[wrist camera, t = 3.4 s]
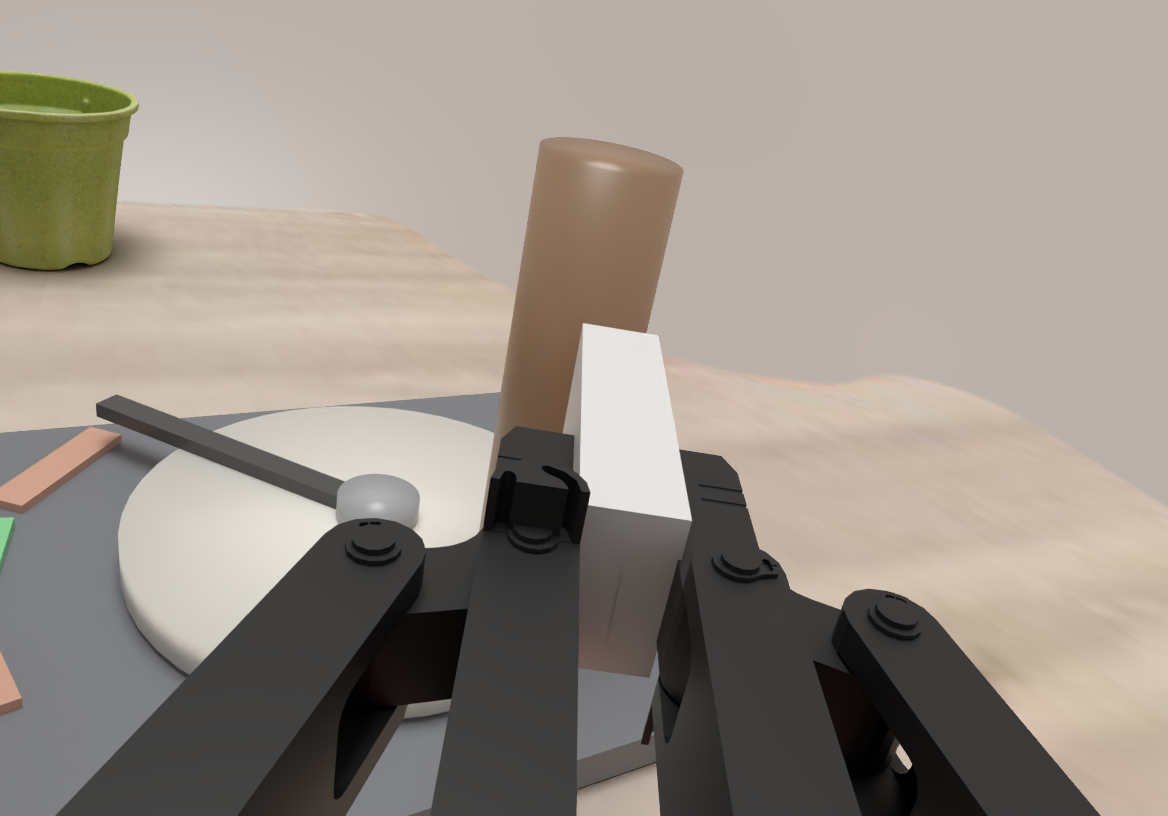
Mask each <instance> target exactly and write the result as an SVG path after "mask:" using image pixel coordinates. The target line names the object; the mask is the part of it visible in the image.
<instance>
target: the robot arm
mask: <svg viewBox="0 0 1168 816" xmlns="http://www.w3.org/2000/svg"><path fill="white" fill-rule="evenodd" d="M656 652H657V653H658V663H659V676H658V680H657V683H656V687H655V691H654V694H653V698H652V701H651V705H650V709H649V712H648V716H647V720H646V723H645V727H644V730H643V735H642V740H641V744H643V745H649V741H650V738H651V734H652V732H654V739H655V752H656V765H657V777H658V790H659V803H660V815H661V816H1100V814H1099V813H1098V812H1097V811H1096V810H1095V809H1094V807H1093V806H1092V805H1091V804H1090V803H1089V801H1088V800H1087V799H1086V798H1085V797H1084V795H1083V794H1082V793H1081V792H1080V791H1079V789H1078V788H1077V787H1076V786H1075V785H1074V783H1073V782H1072V781H1071V780H1070V779H1069V778H1068V776H1067V775H1066V774H1065V773H1064V772H1063V770H1062V769H1061V768H1060V767H1059V766H1058V764H1057V763H1056V762H1055V761H1054V760H1053V758H1052V757H1051V756H1050V755H1049V754H1048V752H1047V751H1046V750H1045V749H1044V748H1043V746H1042V745H1041V744H1040V743H1039V742H1038V741H1037V739H1036V738H1035V737H1034V736H1033V735H1032V733H1031V732H1030V731H1029V730H1028V729H1027V727H1026V726H1025V725H1024V724H1023V723H1022V721H1021V720H1020V719H1019V718H1018V717H1017V715H1016V714H1015V713H1014V712H1013V711H1012V710H1011V708H1010V707H1009V706H1008V705H1007V704H1006V702H1005V701H1004V700H1003V699H1002V698H1001V696H1000V695H999V694H998V693H997V692H996V690H995V689H994V688H993V687H992V686H991V684H990V683H989V682H988V681H987V680H986V678H985V677H984V676H983V675H982V674H981V673H980V671H979V670H978V669H977V668H976V667H975V665H974V664H973V663H972V662H971V661H970V659H969V658H968V657H967V656H966V655H965V653H964V652H963V651H962V650H961V649H960V647H959V646H958V645H957V644H956V643H955V642H954V640H953V639H952V638H951V637H950V636H949V634H948V633H947V632H946V631H945V630H944V628H943V627H942V626H941V625H940V624H939V622H938V621H937V620H936V619H935V618H934V617H933V616H931V615H930V614H929V613H928V612H927V611H926V610H925V609H924V608H923V607H921V606H919V605H917V604H916V603H914V602H912V601H911V600H909V599H908V598H906V597H903V596H901V595H898V594H895V593H892V592H888V591H883V590H874V589H865V590H859V591H854V592H853V593H851V594H850V595H849V596H848V597H846V598H845V601H844V603H843V606H842V609H841V610H840V609H837V608H834V607H831V606H828V605H825V604H823V603H820V602H817V601H814V600H811V599H809V598H807V597H804V596H802V595H800V594H797V593H796V592H794V591H792V590H791V589H790V587H789V583H788V580H787V577H786V574H785V572H784V571H783V569H782V568H781V566H780V564H779V563H778V562H777V561H776V560H775V559H773V558H772V557H771V556H770V555H769V554H767V553H766V552H764V551H762V550H760V549H759V547H758V543H757V540H756V536H755V533H754V529H753V526H752V522H751V519H750V515H749V512H748V509H747V508H746V501H745V498H744V494H742V488H741V484H740V481H739V477H738V474H737V472H736V471H735V470H734V469H733V468H732V467H731V466H730V465H729V464H728V463H727V462H726V461H725V460H724V459H723V458H722V456H717V455H711V454H705V453H698V452H692V451H686V450H679V447H678V441H677V436H676V430H675V425H674V419H673V414H672V408H671V403H670V397H669V392H668V386H667V381H666V375H665V370H664V364H663V359H662V353H661V348H660V343H659V337H658V335H651V334H646V333H640V332H634V331H628V330H622V329H616V328H610V327H604V326H598V325H592V324H586V323H583V326H582V331H581V337H580V342H579V347H578V353H577V358H576V363H575V369H574V374H573V380H572V385H571V390H570V396H569V401H568V407H567V412H566V417H565V423H564V428H563V433H557V432H551V431H544V430H538V429H532V428H525V427H519V426H516V427H514V428H513V429H512V430H511V431H510V432H509V433H507V434H506V435H505V436H504V437H503V438H501V442H500V447H499V453H498V459H497V463H496V469H495V471H494V473H493V474H492V476H491V478H490V484H489V491H488V498H487V504H486V511H485V518H484V525H483V528H482V529H481V530H480V531H479V532H478V533H477V535H475V536H474V537H472V538H470V539H468V540H467V541H465V542H461V543H458V544H455V545H451V546H444V547H435V548H425V546H424V542H423V539H422V538H421V537H420V536H419V535H418V534H417V533H416V532H415V531H414V530H413V529H411V528H409V527H407V526H405V525H403V524H400V523H398V522H396V521H391V520H385V519H379V518H365V519H354V520H351V521H347V522H344V523H341V524H338V525H336V526H335V527H333V528H332V529H330V530H329V531H327V532H326V533H325V534H324V535H323V536H322V537H321V538H320V539H319V540H318V541H317V542H316V543H315V544H314V545H313V546H312V547H311V548H310V549H309V550H308V551H307V553H306V554H305V555H304V556H303V557H302V558H301V559H300V560H299V561H298V562H297V563H296V564H295V565H294V566H293V567H292V568H291V569H290V570H289V571H288V572H287V573H286V575H285V576H284V577H283V578H282V579H281V580H280V581H279V582H278V583H277V584H276V585H275V586H274V587H273V588H272V589H271V590H270V591H269V592H268V593H267V594H266V595H265V596H264V598H263V599H262V600H261V601H260V602H259V603H258V604H257V605H256V606H255V607H254V608H253V609H252V610H251V611H250V612H249V613H248V614H247V615H246V616H245V617H244V618H243V620H242V621H241V622H240V623H239V624H238V625H237V626H236V627H235V628H234V629H233V630H232V631H231V632H230V633H229V634H228V635H227V636H226V637H225V638H224V639H223V640H222V642H221V643H220V644H219V645H218V646H217V647H216V648H215V649H214V650H213V651H212V652H211V653H210V654H209V655H208V656H207V657H206V658H205V659H204V660H203V661H202V662H201V663H200V665H199V666H198V667H197V668H196V669H195V670H194V671H193V672H192V673H191V674H190V675H189V676H188V677H187V678H186V679H185V680H184V681H183V682H182V683H181V684H180V685H179V687H178V688H177V689H176V690H175V691H174V692H173V693H172V694H171V695H170V696H169V697H168V698H167V699H166V700H165V701H164V702H163V703H162V704H161V705H160V706H159V707H158V708H157V710H156V711H155V712H154V713H153V714H152V715H151V716H150V717H149V718H148V719H147V720H146V721H145V722H144V723H143V724H142V725H141V726H140V727H139V728H138V729H137V730H136V732H135V733H134V734H133V735H132V736H131V737H130V738H129V739H128V740H127V741H126V742H125V743H124V744H123V745H122V746H121V747H120V748H119V749H118V750H117V751H116V752H115V753H114V755H113V756H112V757H111V758H110V759H109V760H108V761H107V762H106V763H105V764H104V765H103V766H102V767H101V768H100V769H99V770H98V771H97V772H96V773H95V774H94V775H93V777H92V778H91V779H90V780H89V781H88V782H87V783H86V784H85V785H84V786H83V787H82V788H81V789H80V790H79V791H78V792H77V793H76V794H75V795H74V796H73V797H72V798H71V800H70V801H69V802H68V803H67V804H66V805H65V806H64V807H63V808H62V809H61V810H60V811H59V812H58V813H57V814H56V815H55V816H346V814H347V813H348V811H349V809H350V808H351V806H352V804H353V803H354V801H355V799H356V797H357V796H358V794H359V792H360V791H361V789H362V787H363V786H364V784H365V782H366V781H367V779H368V777H369V776H370V774H371V772H372V771H373V769H374V767H375V766H376V764H377V762H378V761H379V759H380V757H381V755H382V754H383V752H384V750H385V749H386V747H387V745H388V744H389V742H390V740H391V739H392V737H393V735H394V734H395V732H396V730H397V729H398V727H399V725H400V724H401V722H402V720H403V719H404V716H405V713H406V709H407V706H408V704H416V703H424V702H432V701H440V700H448V699H451V704H450V709H449V715H448V720H447V726H446V731H445V736H444V742H443V747H442V753H441V758H440V763H439V769H438V774H437V780H436V785H435V791H434V796H433V801H432V807H431V812H430V816H576V806H577V730H578V668H582V669H589V670H596V671H603V672H610V673H618V674H625V675H632V676H639V677H646V678H650V675H651V671H652V667H653V663H654V660H655V656H656ZM899 744H900V745H901V746H902V748H903V749H904V751H905V752H906V754H907V755H908V757H909V759H910V761H911V763H912V766H911V768H910V769H909V770H908V769H907V768H906V767H905V766H904V765H903V763H902V762H901V760H900V759H899V757H898V756H897V754H896V750H897V748H898V746H899Z"/></svg>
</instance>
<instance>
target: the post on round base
mask: <svg viewBox="0 0 1168 816" xmlns="http://www.w3.org/2000/svg"><path fill="white" fill-rule="evenodd" d="M682 175H683V169H682V167H680V166H679V165H678V164H676V163H675V162H673V161H671V160H669V159H666V158H664V157H661V156H659V155H656V154H653V153H650V152H647V151H643V150H640V149H636V148H632V147H628V146H624V145H619V144H614V143H609V142H604V141H597V140H591V139H581V138H568V137H556V138H548V139H544V140H542V141H541V142H540V146H539V152H538V159H537V165H536V172H535V178H534V185H533V191H532V197H531V203H530V210H529V216H528V222H527V229H526V235H525V242H524V248H523V255H522V261H521V267H520V273H519V280H518V286H517V292H516V299H515V305H514V311H513V318H512V324H511V330H510V337H509V343H508V350H507V356H506V362H505V369H504V375H503V381H502V388H501V394H500V400H499V407H498V413H497V419H496V426H495V432H494V433H493V432H490V431H488V430H485V429H482V428H479V427H476V426H473V425H470V424H467V423H464V422H460V421H457V420H453V419H449V418H445V417H441V416H436V415H431V414H426V413H421V412H416V411H408V410H401V409H393V408H380V407H362V406H336V407H316V408H307V409H298V410H290V411H284V412H279V413H273V414H268V415H263V416H259V417H255V418H252V419H248V420H244V421H240V422H237V423H234V424H231V425H228V426H226V427H223V428H220V429H217V430H215V431H211V430H208V429H206V428H203V427H201V426H198V425H195V424H193V423H190V422H187V421H185V420H182V419H179V418H177V417H174V416H172V415H169V414H166V413H164V412H161V411H158V410H156V409H153V408H151V407H148V406H145V405H143V404H140V403H137V402H135V401H132V400H130V399H127V398H124V397H122V396H119V395H114V396H112V397H110V398H108V399H105V400H103V401H101V402H99V403H96V410H97V417H100V418H103V419H105V420H108V421H110V422H113V423H115V424H118V425H120V426H123V427H126V428H128V429H131V430H133V431H136V432H138V433H141V434H144V435H146V436H149V437H151V438H154V439H156V440H159V441H161V442H164V443H167V444H169V445H172V446H174V447H177V448H179V449H177V450H176V451H174V452H173V453H171V454H170V455H169V456H167V457H166V458H165V459H163V460H162V461H161V462H159V463H158V464H157V465H156V466H155V467H154V468H153V469H152V470H151V471H150V472H149V473H148V474H147V475H146V476H145V477H144V478H143V479H142V480H141V481H140V483H139V484H138V485H137V487H136V488H135V490H134V491H133V492H132V494H131V495H130V497H129V499H128V501H127V504H126V506H125V508H124V510H123V513H122V515H121V520H120V525H119V530H118V546H119V564H120V581H121V590H122V593H123V596H124V600H125V603H126V606H127V609H128V611H129V613H130V615H131V616H132V618H133V620H134V622H135V624H136V625H137V627H138V629H139V630H140V632H141V633H142V634H143V635H144V636H145V637H146V639H147V640H148V641H149V642H150V643H151V644H152V646H153V647H154V648H155V649H156V650H157V651H158V652H159V653H161V654H162V655H163V656H164V657H165V658H167V659H168V660H169V661H170V662H172V663H173V664H174V665H175V666H176V667H178V668H179V669H180V670H182V671H184V672H185V673H187V674H189V675H190V674H191V673H192V672H193V671H194V670H195V669H196V668H197V667H198V666H199V665H200V663H201V662H202V661H203V660H204V659H205V658H206V657H207V656H208V655H209V654H210V653H211V652H212V651H213V650H214V649H215V648H216V647H217V646H218V645H219V644H220V643H221V642H222V640H223V639H224V638H225V637H226V636H227V635H228V634H229V633H230V632H231V631H232V630H233V629H234V628H235V627H236V626H237V625H238V624H239V623H240V622H241V621H242V620H243V618H244V617H245V616H246V615H247V614H248V613H249V612H250V611H251V610H252V609H253V608H254V607H255V606H256V605H257V604H258V603H259V602H260V601H261V600H262V599H263V598H264V596H265V595H266V594H267V593H268V592H269V591H270V590H271V589H272V588H273V587H274V586H275V585H276V584H277V583H278V582H279V581H280V580H281V579H282V578H283V577H284V576H285V575H286V573H287V572H288V571H289V570H290V569H291V568H292V567H293V566H294V565H295V564H296V563H297V562H298V561H299V560H300V559H301V558H302V557H303V556H304V555H305V554H306V553H307V551H308V550H309V549H310V548H311V547H312V546H313V545H314V544H315V543H316V542H317V541H318V540H319V539H320V538H321V537H322V536H323V535H324V534H325V533H326V532H327V531H329V530H330V529H332V528H333V527H335V526H336V525H338V524H341V523H344V522H347V521H351V520H354V519H365V518H379V519H385V520H391V521H396V522H398V523H400V524H403V525H405V526H407V527H409V528H411V529H413V530H414V531H415V532H416V533H417V534H418V535H419V536H420V537H421V538H422V539H423V542H424V546H425V548H435V547H444V546H451V545H455V544H458V543H461V542H465V541H467V540H468V539H470V538H472V537H474V536H475V535H477V533H478V532H479V531H480V530H481V529H482V528H483V525H484V518H485V511H486V504H487V498H488V491H489V484H490V478H491V476H492V474H493V473H494V471H495V469H496V463H497V459H498V453H499V447H500V442H501V438H503V437H504V436H505V435H506V434H507V433H509V432H510V431H511V430H512V429H513V428H514V427H516V426H519V427H525V428H532V429H538V430H544V431H551V432H557V433H563V428H564V423H565V417H566V412H567V407H568V401H569V396H570V390H571V385H572V380H573V374H574V369H575V363H576V358H577V353H578V347H579V342H580V337H581V331H582V326H583V323H586V324H592V325H598V326H604V327H610V328H616V329H622V330H628V331H634V332H640V333H646V332H647V328H648V323H649V319H650V315H651V310H652V306H653V301H654V297H655V293H656V288H657V284H658V280H659V275H660V271H661V267H662V262H663V258H664V253H665V249H666V245H667V240H668V236H669V232H670V228H671V223H672V218H673V215H674V210H675V206H676V201H677V197H678V193H679V189H680V184H681V180H682ZM450 704H451V699H448V700H440V701H432V702H424V703H416V704H408V706H407V709H406V713H405V716H404V718H413V717H422V716H429V715H433V714H438V713H443V712H447V711H449V709H450Z"/></svg>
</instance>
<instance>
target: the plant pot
mask: <svg viewBox="0 0 1168 816" xmlns="http://www.w3.org/2000/svg"><path fill="white" fill-rule="evenodd" d="M138 103H139V102H138V100H137V98H136V97H135V96H133V95H131V94H130V93H128V92H126V91H123V90H120V89H118V88H114V87H111V86H108V85H104V84H100V83H95V82H91V81H86V80H81V79H75V78H68V77H61V76H53V75H46V74H36V73H35V74H34V73H22V72H10V71H0V262H2V263H5V264H8V265H11V266H15V267H24V268H32V269H40V270H56V269H63V268H65V267H67V266H69V265H71V264H74V263H80V262H81V263H86V264H88V265H92V264H96V263H98V262H100V261H103V260H104V259H106V258H107V257H108V256H109V255H110V254H111V251H112V243H113V233H114V223H115V213H116V203H117V193H118V184H119V174H120V166H121V158H122V149H123V141H124V140H125V139H126V137H127V136H128V133H129V125H130V118H131V115H132V114H134V113H135V112H136V111H137V110H138V106H139V105H138Z"/></svg>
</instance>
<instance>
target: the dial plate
mask: <svg viewBox="0 0 1168 816" xmlns="http://www.w3.org/2000/svg"><path fill="white" fill-rule="evenodd" d="M500 394H501V392H499V393H487V394H475V395H462V396H450V397H438V398H425V399H413V400H401V401H388V402H376V403H364V404H351V405H339V406H362V407H380V408H393V409H401V410H408V411H416V412H421V413H426V414H431V415H436V416H441V417H445V418H449V419H453V420H457V421H460V422H464V423H467V424H470V425H473V426H476V427H479V428H482V429H485V430H488V431H490V432H493V433H494V432H495V426H496V419H497V413H498V407H499V400H500ZM327 407H336V406H327ZM314 408H316V407H314ZM302 409H307V408H302ZM290 410H298V409H290ZM290 410H277V411H265V412H253V413H240V414H228V415H216V416H203V417H191V418H179V419H182V420H185V421H187V422H190V423H193V424H195V425H198V426H201V427H203V428H206V429H208V430H211V431H215V430H217V429H220V428H223V427H226V426H228V425H231V424H234V423H237V422H240V421H244V420H248V419H252V418H255V417H259V416H263V415H268V414H273V413H279V412H284V411H290ZM177 449H179V448H177V447H174V446H172V445H169V444H167V443H164V442H161V441H159V440H156V439H154V438H151V437H149V436H146V435H144V434H141V433H138V432H136V431H133V430H131V429H128V428H126V427H123V426H120V425H118V424H105V425H92V426H80V427H68V428H55V429H43V430H31V431H18V432H6V433H0V816H55V815H56V814H57V813H58V812H59V811H60V810H61V809H62V808H63V807H64V806H65V805H66V804H67V803H68V802H69V801H70V800H71V798H72V797H73V796H74V795H75V794H76V793H77V792H78V791H79V790H80V789H81V788H82V787H83V786H84V785H85V784H86V783H87V782H88V781H89V780H90V779H91V778H92V777H93V775H94V774H95V773H96V772H97V771H98V770H99V769H100V768H101V767H102V766H103V765H104V764H105V763H106V762H107V761H108V760H109V759H110V758H111V757H112V756H113V755H114V753H115V752H116V751H117V750H118V749H119V748H120V747H121V746H122V745H123V744H124V743H125V742H126V741H127V740H128V739H129V738H130V737H131V736H132V735H133V734H134V733H135V732H136V730H137V729H138V728H139V727H140V726H141V725H142V724H143V723H144V722H145V721H146V720H147V719H148V718H149V717H150V716H151V715H152V714H153V713H154V712H155V711H156V710H157V708H158V707H159V706H160V705H161V704H162V703H163V702H164V701H165V700H166V699H167V698H168V697H169V696H170V695H171V694H172V693H173V692H174V691H175V690H176V689H177V688H178V687H179V685H180V684H181V683H182V682H183V681H184V680H185V679H186V678H187V677H188V676H189V674H187V673H185V672H184V671H182V670H180V669H179V668H178V667H176V666H175V665H174V664H173V663H172V662H170V661H169V660H168V659H167V658H165V657H164V656H163V655H162V654H161V653H159V652H158V651H157V650H156V649H155V648H154V647H153V646H152V644H151V643H150V642H149V641H148V640H147V639H146V637H145V636H144V635H143V634H142V633H141V632H140V630H139V629H138V627H137V625H136V624H135V622H134V620H133V618H132V616H131V615H130V613H129V611H128V609H127V606H126V603H125V600H124V596H123V593H122V590H121V581H120V564H119V546H118V530H119V525H120V520H121V515H122V513H123V510H124V508H125V506H126V504H127V501H128V499H129V497H130V495H131V494H132V492H133V491H134V490H135V488H136V487H137V485H138V484H139V483H140V481H141V480H142V479H143V478H144V477H145V476H146V475H147V474H148V473H149V472H150V471H151V470H152V469H153V468H154V467H155V466H156V465H157V464H158V463H159V462H161V461H162V460H163V459H165V458H166V457H167V456H169V455H170V454H171V453H173V452H174V451H176V450H177ZM658 676H659V663H658V653H657V652H656V656H655V660H654V663H653V667H652V671H651V675H650V678H646V677H639V676H632V675H625V674H618V673H610V672H603V671H596V670H589V669H582V668H578V730H577V789H579V788H582V787H585V786H587V785H590V784H593V783H596V782H599V781H602V780H605V779H608V778H611V777H614V776H616V775H619V774H622V773H625V772H628V771H631V770H634V769H637V768H640V767H642V766H645V765H648V764H651V763H654V762H656V752H655V739H654V732H652V734H651V738H650V741H649V745H643V744H641V740H642V735H643V730H644V727H645V723H646V720H647V716H648V712H649V709H650V705H651V701H652V698H653V694H654V691H655V687H656V683H657V680H658ZM448 715H449V711H447V712H443V713H438V714H433V715H429V716H422V717H413V718H404V719H403V720H402V722H401V724H400V725H399V727H398V729H397V730H396V732H395V734H394V735H393V737H392V739H391V740H390V742H389V744H388V745H387V747H386V749H385V750H384V752H383V754H382V755H381V757H380V759H379V761H378V762H377V764H376V766H375V767H374V769H373V771H372V772H371V774H370V776H369V777H368V779H367V781H366V782H365V784H364V786H363V787H362V789H361V791H360V792H359V794H358V796H357V797H356V799H355V801H354V803H353V804H352V806H351V808H350V809H349V811H348V813H347V814H346V816H430V812H431V807H432V801H433V796H434V791H435V785H436V780H437V774H438V769H439V763H440V758H441V753H442V747H443V742H444V736H445V731H446V726H447V720H448Z"/></svg>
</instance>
